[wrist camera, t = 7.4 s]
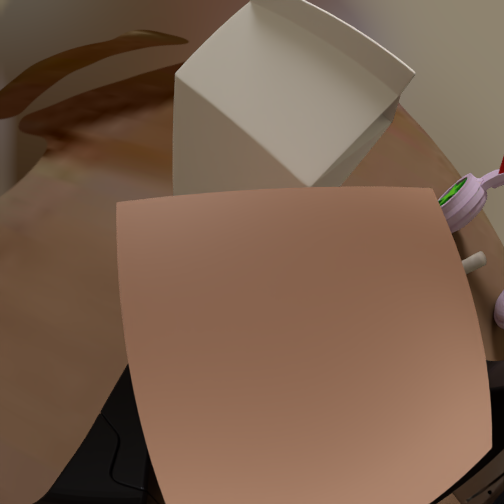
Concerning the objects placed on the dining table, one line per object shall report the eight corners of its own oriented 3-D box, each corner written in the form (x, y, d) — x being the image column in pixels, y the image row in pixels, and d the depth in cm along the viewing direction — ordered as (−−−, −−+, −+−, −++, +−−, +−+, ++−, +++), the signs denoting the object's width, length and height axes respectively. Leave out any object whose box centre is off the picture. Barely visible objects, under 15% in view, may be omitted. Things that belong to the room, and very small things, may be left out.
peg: (275, 402, 13) (491, 448, 2) (188, 419, 12) (208, 591, 1) (257, 319, 15) (432, 188, 4) (170, 333, 14) (117, 202, 3)
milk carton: (232, 297, 22) (372, 93, 5) (173, 232, 23) (181, -13, 6) (292, 243, 25) (437, 64, 8) (236, 187, 26) (308, -17, 9)
